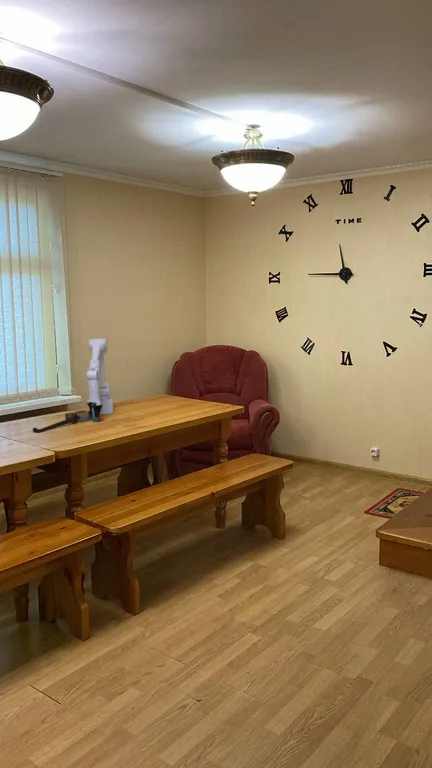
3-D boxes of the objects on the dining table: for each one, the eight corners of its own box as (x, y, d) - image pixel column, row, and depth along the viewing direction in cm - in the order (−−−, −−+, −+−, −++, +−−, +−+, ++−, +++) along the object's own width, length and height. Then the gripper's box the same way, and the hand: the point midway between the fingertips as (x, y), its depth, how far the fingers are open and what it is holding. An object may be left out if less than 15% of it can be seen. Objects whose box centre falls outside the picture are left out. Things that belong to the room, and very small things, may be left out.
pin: (97, 420, 345) (97, 402, 344) (100, 421, 342) (99, 403, 340) (91, 421, 344) (90, 403, 342) (93, 422, 340) (92, 404, 339)
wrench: (32, 435, 320) (75, 420, 344) (38, 436, 317) (82, 421, 342) (31, 425, 319) (74, 411, 343) (37, 427, 316) (81, 412, 340)
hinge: (96, 417, 352) (95, 409, 351) (99, 419, 347) (98, 410, 346) (64, 421, 344) (63, 412, 343) (67, 423, 339) (66, 414, 338)
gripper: (83, 390, 345) (84, 414, 347) (90, 394, 332) (91, 419, 334) (95, 389, 348) (96, 413, 350) (103, 393, 335) (104, 417, 337)
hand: (95, 416), depth 342 cm, fingers open, 7 cm apart
